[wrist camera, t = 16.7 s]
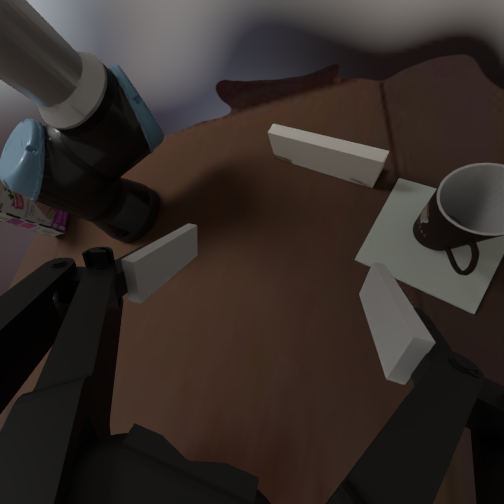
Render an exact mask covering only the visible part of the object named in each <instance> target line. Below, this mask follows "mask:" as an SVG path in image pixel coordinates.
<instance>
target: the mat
mask: <svg viewBox="0 0 504 504" xmlns="http://www.w3.org/2000/svg"><path fill="white" fill-rule="evenodd" d="M435 191H436V188H432V187H429V186H425V185H422V184H418V183H415V182H411V181H407V180H404V179H400V178H399V179H398V181H397V183H396V185H395V186H394V188H393V190H392V192H391V194H390V196H389V197H388V199H387V201H386V203H385V205H384V207H383V208H382V210H381V212H380V214H379V216H378V218H377V219H376V221H375V223H374V225H373V227H372V229H371V230H370V232H369V234H368V236H367V238H366V239H365V241H364V243H363V245H362V247H361V249H360V250H359V252H358V254H357V256H356V258H355V260H356V261H358V262H360V263H362V264H364V265H366V266H369V267H371V265H372V263H373V262H376V263H381V264H385V265H386V266H387V268H388V270H389V271H390V273H391V274H392V276H393V277H394V278H395V279H397V280H399V281H401V282H404V283H406V284H408V285H410V286H412V287H415V288H417V289H419V290H421V291H423V292H425V293H428V294H430V295H432V296H434V297H436V298H439V299H441V300H443V301H445V302H447V303H449V304H452V305H454V306H456V307H458V308H460V309H463V310H465V311H467V312H469V313H471V314H475V312H476V310H477V308H478V306H479V304H480V302H481V300H482V298H483V296H484V294H485V292H486V290H487V288H488V285H489V283H490V281H491V279H492V277H493V275H494V273H495V271H496V269H497V267H498V265H499V263H500V261H501V259H502V257H503V255H504V235H503V236H499V237H495V238H492V239H488V240H484V241H480V242H477V246H478V249H479V259H478V263H477V266H476V268H475V270H474V271H473V272H472V273H471V274H469V275H467V276H465V275H459V274H458V273H456V272H455V270H454V269H453V267H452V266H451V263H450V261H449V258H448V256H447V253H446V251H436V250H431V249H428V248H426V247H424V246H422V245H421V244H420V243H419V242H418V241H417V240H416V238H415V237H414V234H413V225H414V223H415V221H416V219H417V218H418V216H419V215H420V213H421V212H422V210H423V209H424V207H425V206H426V204H427V203H428V201H429V200H430V198H431V197H432V195H433V194H434V192H435ZM451 251H452V253H453V256H454V258H455V260H456V263H457V265H458V266H459V268H461V270H463V271H464V270H465V269H466V268H467V267H468V266H469V263H470V261H471V257H472V253H471V248H470V246H469V245H465V246H461V247H458V248H454V249H451Z"/></svg>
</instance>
